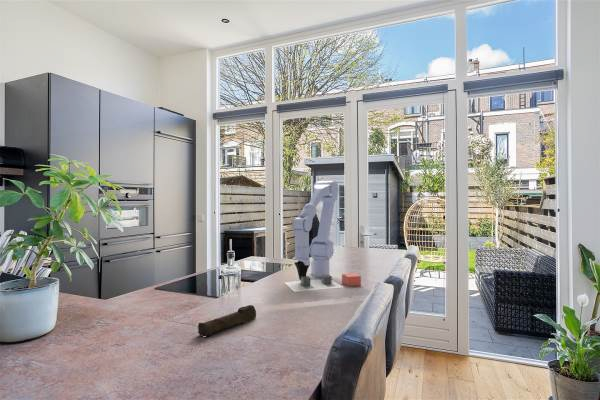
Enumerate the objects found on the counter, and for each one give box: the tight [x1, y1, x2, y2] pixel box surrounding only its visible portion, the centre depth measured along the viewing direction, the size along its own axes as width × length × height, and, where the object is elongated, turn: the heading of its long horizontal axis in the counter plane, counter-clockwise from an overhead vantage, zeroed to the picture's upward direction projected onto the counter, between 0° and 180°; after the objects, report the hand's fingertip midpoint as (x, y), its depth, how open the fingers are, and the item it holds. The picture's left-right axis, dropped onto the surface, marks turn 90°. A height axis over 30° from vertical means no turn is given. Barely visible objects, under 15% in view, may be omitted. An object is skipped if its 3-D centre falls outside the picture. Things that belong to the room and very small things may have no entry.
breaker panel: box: [284, 275, 344, 293], centre depth 138 cm, size 15×20×4 cm
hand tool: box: [197, 304, 257, 337], centre depth 97 cm, size 19×4×5 cm, turn 136°
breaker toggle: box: [300, 275, 311, 286], centre depth 137 cm, size 3×3×3 cm
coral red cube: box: [341, 272, 362, 287], centre depth 139 cm, size 6×6×5 cm
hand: (302, 279), depth 142 cm, fingers closed
